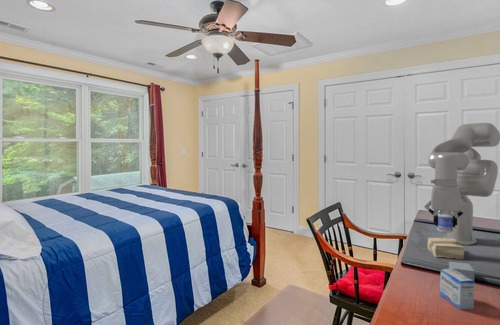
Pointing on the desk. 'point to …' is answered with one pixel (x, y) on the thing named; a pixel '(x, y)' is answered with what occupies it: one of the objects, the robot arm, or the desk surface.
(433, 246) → the oak block
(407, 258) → the desk surface
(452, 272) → the medicine box
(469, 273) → the grey block
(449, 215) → the pill bottle
